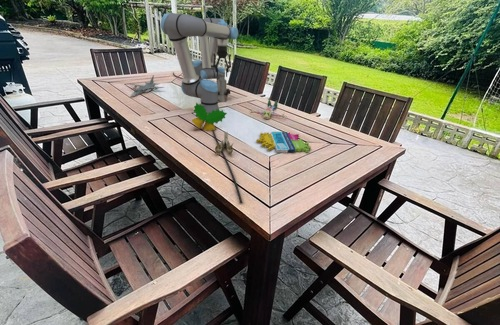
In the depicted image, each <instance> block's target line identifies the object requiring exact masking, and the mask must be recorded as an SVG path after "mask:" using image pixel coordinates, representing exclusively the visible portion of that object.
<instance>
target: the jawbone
mask: <svg viewBox="0 0 500 325" xmlns="http://www.w3.org/2000/svg"><path fill="white" fill-rule="evenodd" d="M223 135H224V136H223V140H222V139H221V142H220V143H219V145H218V144H217V142H216V141H215V144H216V146H215V148H214V149H215V152H214V154H215V155H217V156H218V155H220V153H222V152H221V151H223V152H224V150H226V152H227V153H228V155H229V156H233V155H234V154H233V153H234V148H233V144H234V143H230V140H228V139H229V138H228V137H229V136H228V135H229V133H228V131H226V132H224V134H223Z"/></svg>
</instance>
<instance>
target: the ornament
mask: <svg viewBox="0 0 500 325" xmlns="http://www.w3.org/2000/svg"><path fill="white" fill-rule="evenodd" d="M219 110H220V108H219V109H217V110H216V111H214V110H212V112H211V113H208V112H206V109H204V106H201V103H198V102H195V105H194V106H193V112H194V113H195V118H192V119H191V122H192V123H193V125H195V127H197V128H198V129H202V130H203V131H206V132H213V131H212V130H214V131H215V130H216V126H215V124H218V123H219V122H223V119H226V115H227V114H228V113H227V112H224V110H223V109H221V110H220V111H219ZM207 113H208V115H207ZM214 123H215V124H214Z"/></svg>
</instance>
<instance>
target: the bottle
mask: <svg viewBox="0 0 500 325" xmlns="http://www.w3.org/2000/svg"><path fill="white" fill-rule="evenodd" d="M216 83H217V86H218V103H225V102H227V97H226V89H227V79H226V78H225V79H224V77H220V79H218V80H217V79H216Z"/></svg>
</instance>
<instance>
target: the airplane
mask: <svg viewBox="0 0 500 325" xmlns="http://www.w3.org/2000/svg"><path fill="white" fill-rule="evenodd" d="M154 78H155V75H154V74H153V75H152V77H151V78H150V81H145V82H144V83H145V84H136V83H135V84H134V83H129V85H131V86H133V90H134V89H135V90H134V91H133V92H132V93H131V94H130V96H129V98H134V97H137V96H138V95H140V94H142V93H148V92H150V91H152V90H153V92H155V91H157V90H158V89H165V87H164V86H157V85H159V83H155V81H154Z"/></svg>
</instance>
